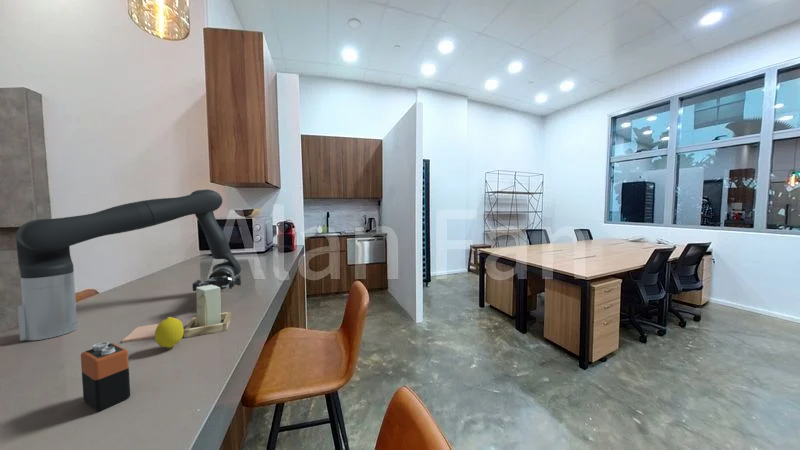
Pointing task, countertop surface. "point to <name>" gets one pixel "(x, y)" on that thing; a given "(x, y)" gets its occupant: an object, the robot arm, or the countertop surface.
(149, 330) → the terracotta tile
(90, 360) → the battery
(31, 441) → the countertop surface
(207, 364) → the countertop surface
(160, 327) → the lemon
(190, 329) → the square wooden frame
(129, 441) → the countertop surface
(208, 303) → the skincare box
